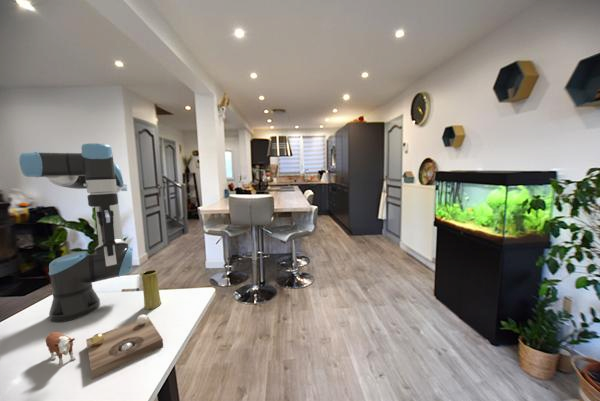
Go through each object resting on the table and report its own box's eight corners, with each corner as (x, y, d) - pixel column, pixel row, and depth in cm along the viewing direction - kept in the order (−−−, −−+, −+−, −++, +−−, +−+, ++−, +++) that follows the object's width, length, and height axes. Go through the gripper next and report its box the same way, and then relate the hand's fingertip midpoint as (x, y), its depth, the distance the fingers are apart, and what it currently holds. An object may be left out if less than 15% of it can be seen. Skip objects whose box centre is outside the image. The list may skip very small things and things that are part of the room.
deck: (87, 346, 78) (86, 339, 77) (148, 323, 89) (147, 316, 89) (92, 379, 65) (91, 370, 65) (163, 346, 77) (162, 338, 76)
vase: (151, 301, 105) (148, 269, 104) (164, 301, 104) (161, 269, 103) (140, 309, 99) (136, 275, 98) (154, 309, 98) (150, 275, 97)
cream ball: (136, 324, 85) (134, 315, 84) (146, 320, 87) (145, 311, 87) (138, 328, 82) (137, 319, 82) (149, 323, 85) (148, 315, 84)
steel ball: (118, 346, 74) (119, 345, 72) (131, 340, 76) (132, 340, 74) (120, 357, 73) (122, 356, 71) (133, 351, 76) (135, 351, 73)
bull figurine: (60, 374, 67) (56, 346, 66) (45, 356, 74) (41, 331, 73) (81, 363, 71) (77, 336, 70) (65, 347, 78) (61, 323, 77)
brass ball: (91, 344, 75) (89, 334, 75) (104, 339, 77) (103, 329, 77) (91, 349, 73) (90, 339, 72) (105, 344, 75) (104, 334, 75)
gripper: (85, 193, 81) (94, 263, 83) (88, 194, 71) (98, 273, 74) (113, 191, 86) (121, 257, 88) (120, 192, 77) (128, 266, 79)
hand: (111, 264), depth 81 cm, fingers closed
